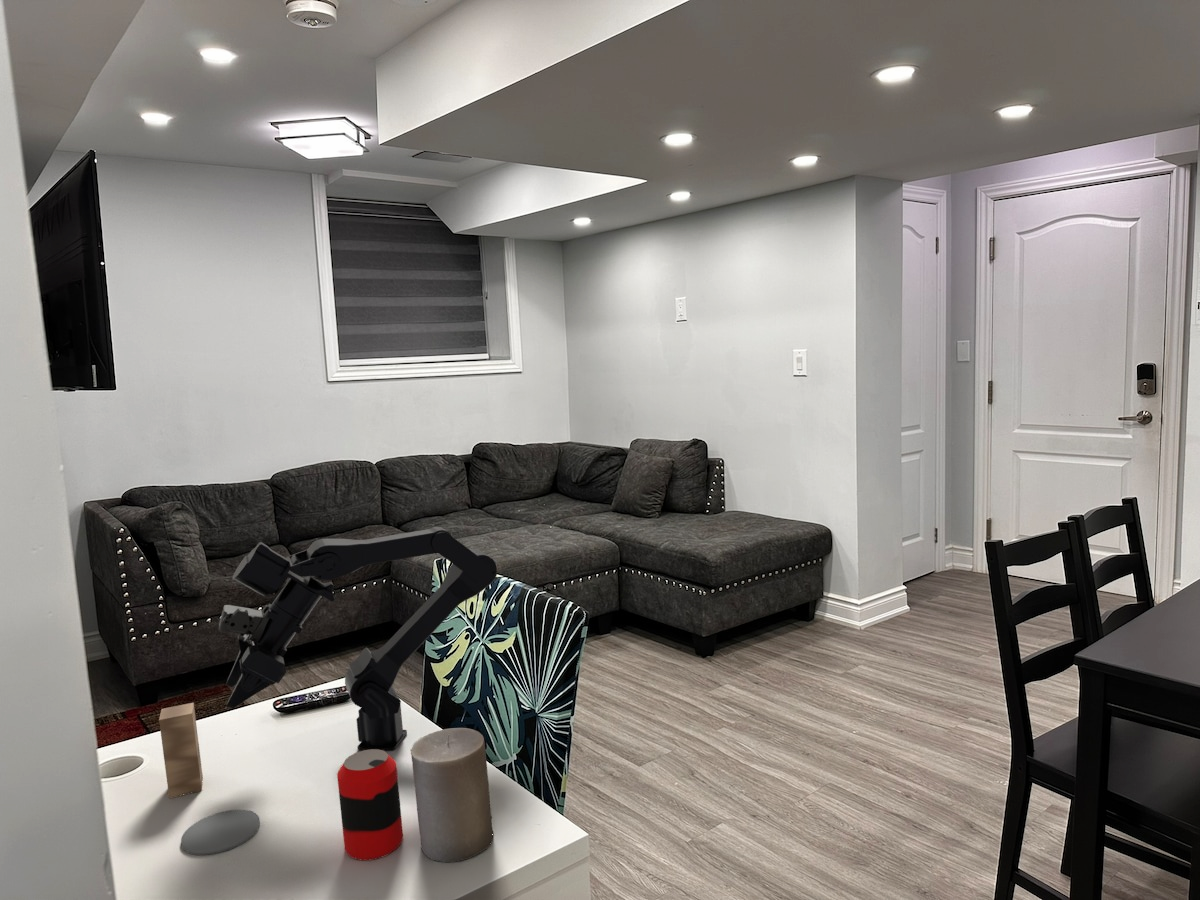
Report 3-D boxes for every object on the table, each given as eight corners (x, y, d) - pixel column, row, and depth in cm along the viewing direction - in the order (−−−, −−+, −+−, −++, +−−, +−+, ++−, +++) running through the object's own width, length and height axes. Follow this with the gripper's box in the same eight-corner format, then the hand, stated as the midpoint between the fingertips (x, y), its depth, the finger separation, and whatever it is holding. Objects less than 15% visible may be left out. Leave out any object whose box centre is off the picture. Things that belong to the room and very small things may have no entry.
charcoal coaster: (273, 813, 121) (272, 809, 121) (235, 855, 111) (235, 851, 111) (208, 813, 123) (208, 809, 122) (165, 854, 113) (165, 850, 113)
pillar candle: (503, 823, 115) (494, 719, 114) (477, 866, 106) (467, 753, 104) (438, 819, 118) (428, 717, 116) (407, 860, 108) (395, 750, 107)
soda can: (372, 868, 107) (364, 779, 106) (332, 851, 111) (323, 766, 110) (415, 837, 113) (407, 752, 112) (375, 822, 117) (367, 741, 116)
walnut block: (202, 777, 133) (193, 702, 132) (201, 790, 129) (192, 713, 128) (171, 784, 132) (161, 708, 130) (169, 798, 127) (159, 720, 126)
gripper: (242, 572, 139) (183, 653, 137) (246, 600, 122) (179, 693, 120) (300, 605, 144) (244, 684, 141) (312, 636, 127) (248, 727, 124)
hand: (229, 695), depth 131 cm, fingers open, 9 cm apart
